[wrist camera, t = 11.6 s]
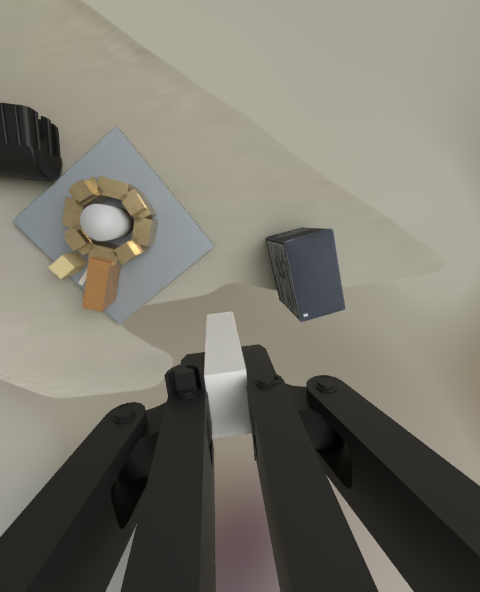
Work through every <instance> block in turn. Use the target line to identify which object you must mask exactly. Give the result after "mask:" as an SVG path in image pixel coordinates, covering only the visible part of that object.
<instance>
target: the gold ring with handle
mask: <svg viewBox="0 0 480 592" xmlns="http://www.w3.org/2000/svg"><path fill="white" fill-rule="evenodd" d="M69 189H70V191H69V193H70V194H71V195H72V197H73V198H68V197H65V205H64V214H63V223H62V225H63V226H67V227H71V228H70V229H68V230H66V231H65V234H66V235H67V236H65V237H64V239H65V241H66V242H67V243H68V245H69V246H70V247H71V249H72V250H73V251H77V250H78V251H79V252H80V253H81V255H82V256H83V255H87V254H89V256H88V260H89V262H88V269H87V277H86V284H85V292H84V299H83V306H82V308H87V309H92V310H97V311H104V310H105V309H106V308H107V307H108V306H110V305H111V304H112V303H113V302H114V301H115V300H116V294H117V288H118V282H119V275H120V269H121V264H122V265H123V264H125V263H127V262H129V261H131V260H133V259H134V258H136V257H138V256H139V255H141V254H142V253H144V252H146V251H147V250H149V249H151V248H150V247H149V246H150V245H153V244H154V240H155V235H156V230H157V225H158V220H156V219H152V217H154V216H155V215H157V213H156V212H155V210H154V209H153V207H152V206H151V204H150V202H149V201H148V199H147V198H146V196H145V195H144V193H143V192H142V191H140V190H137V187H134V186H132V185H130V184H127V183H123V182H120V181H116V180H113V179H109V178H106V177H102V176H99V179H98V178H95V177H93V176H92V177H91V178H89V179H88V180H84V179H81V180H80V181H78V182H77V183H75V184H73V185H72V186H70V187H69ZM110 198H116V199H119V200H123V201H122V204H123V205H124V207H125V208H126V210H127V211H128V213H129V214H130V216H133V217H134V218H135V222H134V228H133V234H132V239H131V240H130V241H128V242H126V243H124V244H123V245H121V246H120V245H116V244H112V243H108V242H105V241H97V240H94V239H92V238H90V237H88V236H87V235H86V234H85V233H84V231H83V229H82V227H81V224H80V216H81V213H82V211H83V210H84V209H85V208H86V207H87V206H89V205H92V204H102V203H104V202H105V201H107V200H109V199H110Z"/></svg>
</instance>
